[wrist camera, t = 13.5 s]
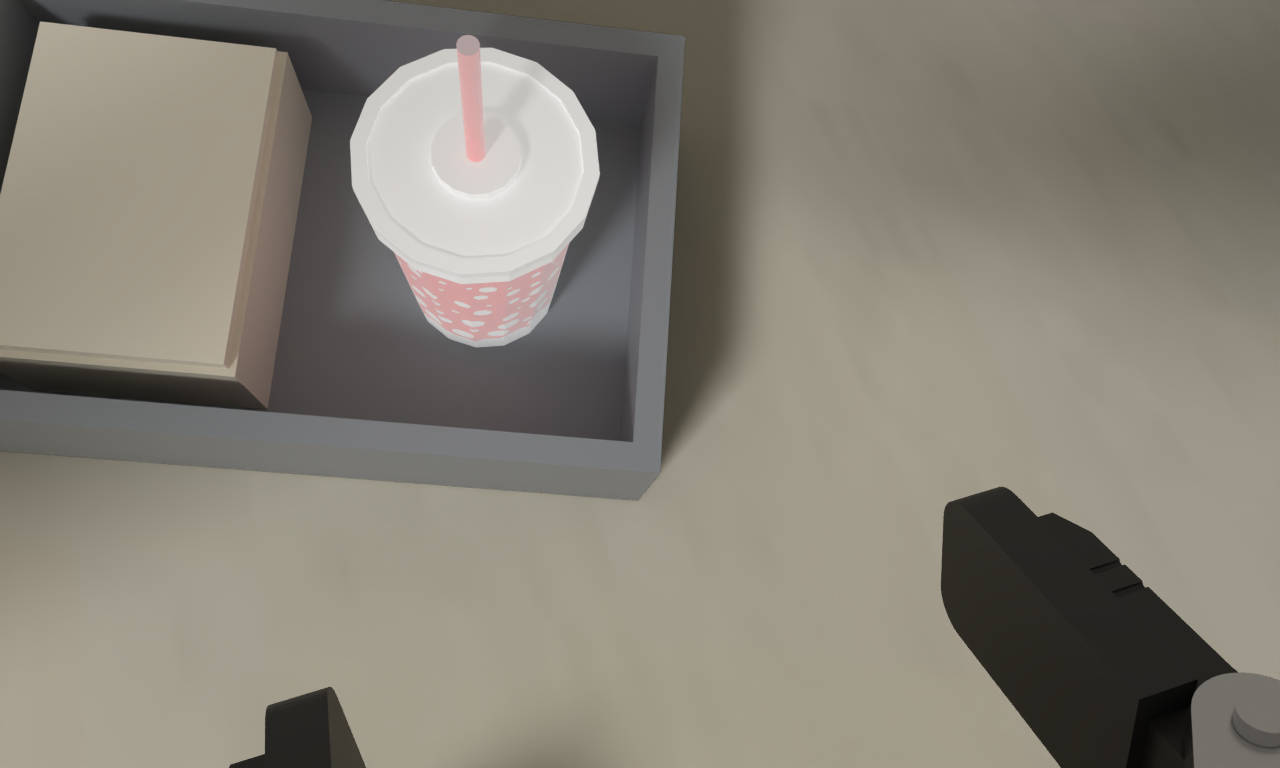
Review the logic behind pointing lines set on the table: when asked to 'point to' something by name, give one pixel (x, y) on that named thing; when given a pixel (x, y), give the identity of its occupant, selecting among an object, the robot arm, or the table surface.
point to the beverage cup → (476, 185)
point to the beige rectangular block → (150, 216)
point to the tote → (377, 287)
